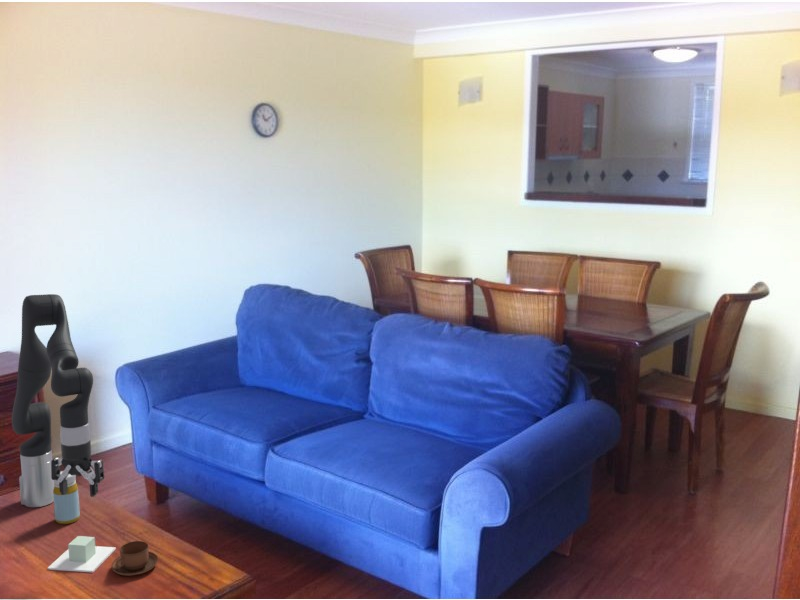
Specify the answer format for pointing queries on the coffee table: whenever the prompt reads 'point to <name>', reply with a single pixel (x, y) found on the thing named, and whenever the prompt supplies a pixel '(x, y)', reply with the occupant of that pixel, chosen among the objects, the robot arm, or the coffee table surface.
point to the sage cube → (82, 549)
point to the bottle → (66, 502)
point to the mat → (88, 566)
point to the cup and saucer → (134, 559)
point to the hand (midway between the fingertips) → (79, 494)
